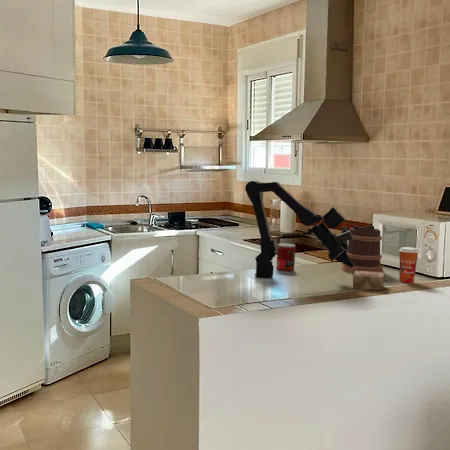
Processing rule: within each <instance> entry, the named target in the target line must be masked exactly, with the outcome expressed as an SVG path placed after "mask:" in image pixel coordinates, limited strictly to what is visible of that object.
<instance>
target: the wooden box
mask: <svg viewBox="0 0 450 450" xmlns="http://www.w3.org/2000/svg"><path fill="white" fill-rule="evenodd" d="M384 273H385V272H384ZM384 273H382V272H368V271H355V272H354V273H353V276H352V289H362V290H374V291H375V290H376V291H383V290H384V277H385V276H384V275H385V274H384Z"/></svg>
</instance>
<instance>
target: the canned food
mask: <svg viewBox="0 0 450 450" xmlns="http://www.w3.org/2000/svg"><path fill="white" fill-rule="evenodd" d="M277 244H278V246H279V249H278V253H277V255H276V264H275V265H276V267H275V268H276V270H277V271H281V270H284V271H283V272H292V270H293V271H294V269H295V263H296V261H295V260H296V245H295V244H294V243H284V242H283V243H277Z"/></svg>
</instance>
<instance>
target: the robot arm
mask: <svg viewBox="0 0 450 450" xmlns="http://www.w3.org/2000/svg"><path fill="white" fill-rule="evenodd" d="M244 190H245V192H246V195H247V197H248V199H249V201H250V202H251V204H252V207H253V211H254V215H255V219H256V220H255V221H256V223H257V227H258V231H259V236H260V253H258V255H256V257H255V273H254V276H255V278H257V279H258V278H260V279H261V278H262V279H273V276H274V265H273V262H272V261H273V259H274V258H275V257H277V253H278V249H279V246H278V244H279V243H278V238H273V236H272V233H271V230H270V225H269V221H268V217H267V212H266V209H265V205H264V193H269V192H271V193H273V194H275V195H276V196H277V198H279V199H280V200H281V201H282V202H283V203H284V204H285V205H286V206H287V207H288V208H289V209H291V211H293V213H294V214H295V215H296V216H297V218H298V220H299V221H300V222H301V223H302V225H304V226H306V227H309V228H307V236H308V237H309V236H310V235H312V234H313V235H314V236H315V238H316V239H317V240H318V241H319V242H320V243H321V245H322V247H323V246H324V248H326V250H327V251H328V258H329V260H330V261H337V262H339V263H341V264H342V265H343V264H345V265H347V266H349V267H351V268H352V267H353V266H354V265H353V263H352V262H351V260H350V258H349V256H348V254H347V248H346V249H344V247H345V246H347V245H348V241H349V240H351V239H353V236H352V234H351V231H350V230H349V229H348V231H347V230H346V229H345V230H342V234H340V233H339V234H336V233H333V232H332V231H331V229H334V230H335V229H337V227H339V225H341V224H342V223H343V222H344V221H345V220H346V218H345V216H344V215H343V214H342V213H341V212H340V211H338V209H336V208H335V207H334V206H333V207H331V208H330V209H329V211H328V212H326V213H325V214H324V215H322V214H318V213H316V212H315V211H313V210H312V209H311V208H309V207H307V206H306V205H303V204H302V203H300V201H298V200H297V199H296V198H295V197H294V196H293V195H292V194H291V193H290V192H288V190H286V189H285V188H284V187H283V186H282V185H281V184H280V182H278V181H272V182H260V181H259V180H250V181H248V182H247V183H246V185H245V188H244ZM321 221H322V222H321ZM320 222H321V223H320ZM315 223H316V224H315ZM318 223H320V224H318ZM314 224H315V225H314ZM311 226H312V227H311ZM345 241H347V243H346V242H345Z"/></svg>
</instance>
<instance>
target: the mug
mask: <svg viewBox="0 0 450 450" xmlns="http://www.w3.org/2000/svg"><path fill="white" fill-rule="evenodd" d="M340 228H341V230H340V232H339V234H342V230H345V229H346V230H347V231H349V229H350V231H351V234H352V236H353V239H351V240H347V241H345V242H346V243H347V244H348V245H347V246H345V247H344V249H346V248H347V254H348V256H349V258H350V260H351V262H352V263H353V265H354V266H353V267H352V268H351V267H349V266H347V265H345V264H343V263H342V266H341V270H342V271H343V272H345V273H349V274H354V272H355V271H368V272H382V273H385V272H384V269H383V268H384V267H383V265H382V264H381V259H382V257H383V255H382V254H381V241H382V240H383V237H382V235H381V230H380V229H378V228H375V226H374V225H365V227H364V226H363V227H362V226H361V227H359V225H352V226H351V227H348V226H342V225H341V227H340Z"/></svg>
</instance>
